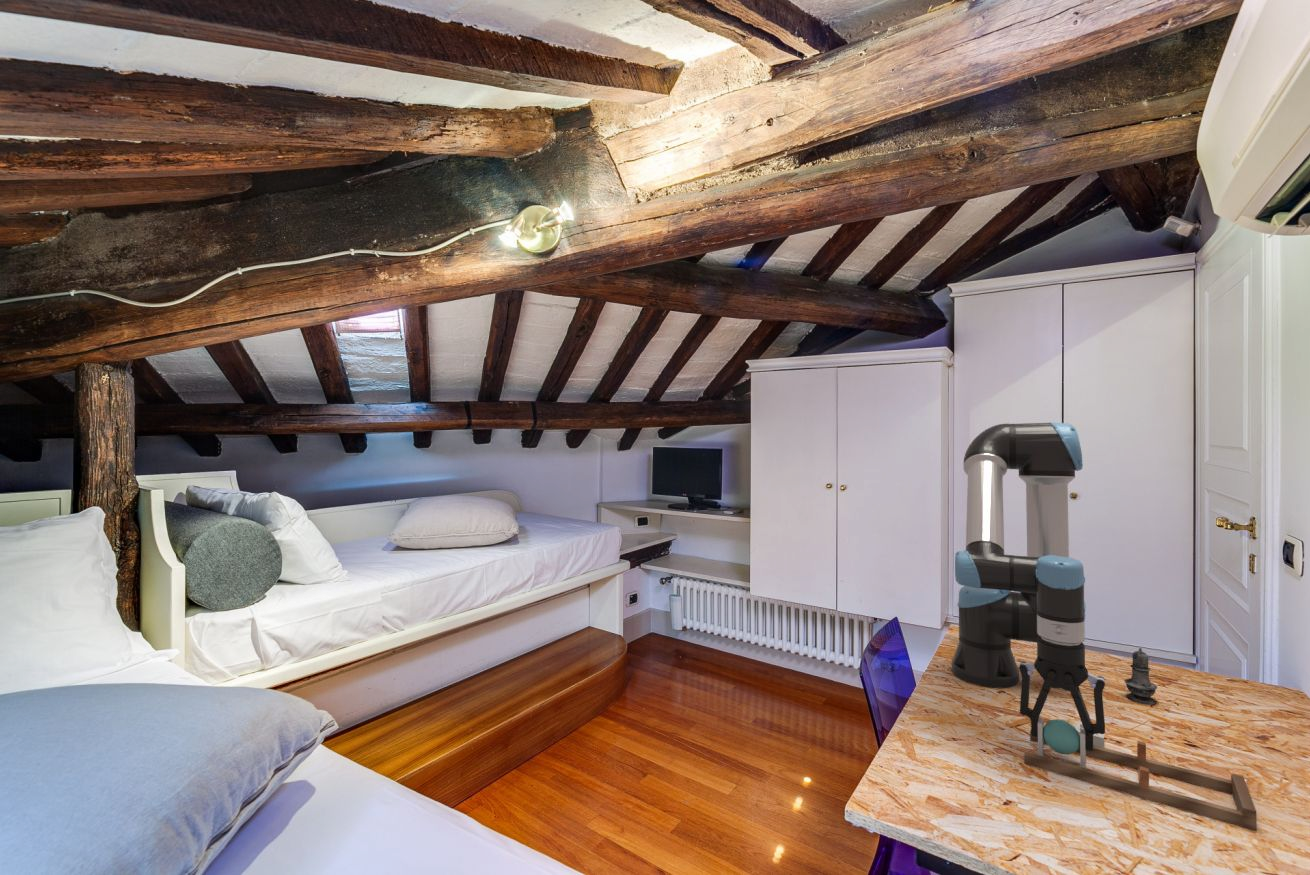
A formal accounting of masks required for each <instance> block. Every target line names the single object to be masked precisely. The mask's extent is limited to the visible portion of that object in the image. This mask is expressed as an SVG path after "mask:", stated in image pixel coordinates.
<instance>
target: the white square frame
mask: <svg viewBox="0 0 1310 875" xmlns="http://www.w3.org/2000/svg"><path fill="white" fill-rule="evenodd" d="M1074 727H1075V728H1076V730H1077V731H1078V733H1079V735H1080V729H1081V728H1084V727H1083V725H1082V722H1081V721H1076V720H1075V721H1074ZM1093 745H1094V746H1098V747H1102V748H1105V733H1104V734H1099V733H1096V734H1094V735H1093Z"/></svg>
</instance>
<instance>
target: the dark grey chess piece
mask: <svg viewBox="0 0 1310 875" xmlns="http://www.w3.org/2000/svg"><path fill="white" fill-rule="evenodd" d="M1142 650H1143V649H1142V648H1141V647H1139V648H1138V650H1136V651H1134V652H1132V664H1131V665H1130V668H1131V670H1132V671H1131V677H1130V678H1125V679H1124V683H1125V685H1126V688H1127V690H1128V691H1129V693H1126V695H1125V697H1126V698H1127V699H1128V700H1130V701H1132V702H1134V703H1138V704H1143V705H1155V704H1156V699H1154V698H1153V697H1152V696H1154V694H1156V690H1157V689H1158V686H1157V685H1156V684H1155V683H1153V682H1151V681H1150V671H1151V668H1150V667H1149V656H1148V654H1147V653H1146V652H1144V651H1142Z"/></svg>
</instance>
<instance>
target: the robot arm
mask: <svg viewBox="0 0 1310 875" xmlns="http://www.w3.org/2000/svg"><path fill="white" fill-rule="evenodd" d="M1080 443H1081V442H1080V437H1079V435H1078V432H1077V430H1076V427H1075V426H1074V425H1072V424H1070V423H1067V422H1066V423H1064V422H1052V421H1050V422H1031V423H1030V422H1029V423H1001V424H1000V423H999V424H996V425H993V426H990V427H988V428H986V429H984V431H982V432H981V433H979V434H978V435H977V436H976V437H975V438H974V439H973V440H972V441H971V443H970V444H969V446H968V447H967V449H966V451H965V454H964V457H963V470H964V473H965V474H966V476H967V491H966V492H967V493H966V494H967V496H966V524H965V525H966V526H965V527H966V528H965V531H966V533H965V550H963V551H962V550H960V551H957V552H956V553H955V557H954V577H955V582H956V583H957V584H958V585H960V586H962V587H961V588H960V589H959V591H958V602H957V607H958V643H957V647H956V649H955V651H954V655H953V657H952V660H951V671H952V672H951V673H952V674H954V676H956V677H958V678H959V679H961V680H963V681H965V682H968V683H970V684H974V685H977V686H982V687H986V688H996V689H997V688H999V689H1000V688H1001V689H1002V688H1010V687H1014V686H1017V685H1018V684H1019V683H1020V676H1021V686H1020V687H1021V689H1020V701H1019V703H1020V705H1019V714H1020V715H1022V716H1025V717H1028V718H1029V720H1030V730H1031V734H1032V736H1034V737H1038V742H1037V755H1039V756H1043V757H1044V753H1045V744H1044V737H1043V728H1044V726H1045V724H1044V721H1045V720H1044V719H1045V718H1044V717H1040V715H1041V713H1042V710H1043V708H1044V706H1045V703H1046V700H1047V698H1048V696H1049V694H1050V691H1051V689H1061V690H1064V691H1065V692H1070V695H1071V698H1072V700H1073V702H1074V705H1075V708H1076V711H1077V714H1078V716H1079V718H1080V722H1081V723H1082V725H1083V727H1084V728H1081V729H1080V754H1079V755H1080V757H1079V760H1080V763H1079V764H1080V766H1079V767H1083V768H1086V766H1087V755H1086V750H1089V751H1092V750H1093V735H1094V734H1096V733H1099V734H1104V735H1105V734H1106V722H1105V712H1104V711H1105V709H1104V700H1103V691H1104V689H1105V686H1106V679H1105V677H1103V676H1096V675H1094V674H1092V673H1089V671H1088V669H1087V668H1086V646H1085V644H1084V642H1085V640H1086V639H1085V638H1086V637H1085V636H1086V635H1085V634H1086V631H1085V628H1086V627H1085V625H1086V624H1085V622H1086V602H1085V582H1086V577H1085V574H1084V564H1083V563H1082V562H1081V561H1080V560H1078V559H1075V558H1072V557H1070V550H1069V549H1070V548H1069V546H1070V544H1069V542H1070V538H1069V537H1070V536H1069V498H1068V497H1069V496H1068V493H1069V491H1068V486H1069V483H1071V482H1072V481H1073V480H1074V479H1075V478H1076V471H1077V472H1079V471H1082V469H1083V467H1084V466H1083V454H1082V452H1083V451H1082V447H1081V444H1080ZM1008 470H1018V478H1020V480H1022V481H1023V482H1024V484H1025V495H1026V496H1025V497H1026V498H1025V499H1026V502H1025V504H1026V505H1025V506H1026V508H1025V510H1026V556H1025V555H1012V554H1005V529H1004V528H1005V525H1004V524H1005V523H1004V521H1005V520H1004V519H1005V518H1004V480H1003V479H1004V476H1005V475H1006V473H1007V472H1008ZM1012 640H1015V641H1019V642H1020V641H1021V642H1022V641H1023V642H1028V643H1029V642H1030V643H1036V659H1035V661H1034V662H1026V661H1022V660H1021V662H1020V663H1019V665H1017V662H1016V659H1015V657H1014V653H1013V652H1012ZM1018 666H1019V667H1018ZM1035 670H1036V672H1037V673H1038V674H1039V676H1040V677H1041V678H1042V680H1043V682H1042V685H1041V689H1040V690H1039V694H1038V695H1037V699H1036V701H1035V703H1034V705H1033V709H1032V708H1030V707H1029V705H1030V704H1029V703H1030V690H1031V689H1030V688H1031V676H1033V674H1034V671H1035ZM1086 680H1087V681H1088V682H1089V686H1090V688H1092V689H1093V702H1094V711H1095V715H1094V716H1095V722H1096V723H1092V719H1091V717H1090V714H1089V712H1088V709H1087V706H1086V703H1085V701H1084V698H1083V695H1082V693H1081V689H1080V686H1081V685H1082V684H1084V682H1085V681H1086ZM1086 769H1087V768H1086Z"/></svg>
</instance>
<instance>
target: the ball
mask: <svg viewBox="0 0 1310 875" xmlns="http://www.w3.org/2000/svg"><path fill="white" fill-rule="evenodd" d="M1043 737H1044V740H1045V742H1046V743H1047V745H1046V746H1048V747H1049V748H1050V749H1051V750H1053V751H1054V752H1056V753H1058V754H1061V755H1072V754H1074V753H1075V752H1076V751H1077V750H1078V749H1079V747H1080V735H1079V733H1078V731H1077V730H1076V728H1075V725H1073V724H1071V723H1070V722H1068V721H1066V720H1063V719H1059V718H1057V719H1051V720H1049V721H1047V722H1046V723H1045V724H1044V728H1043Z"/></svg>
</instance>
